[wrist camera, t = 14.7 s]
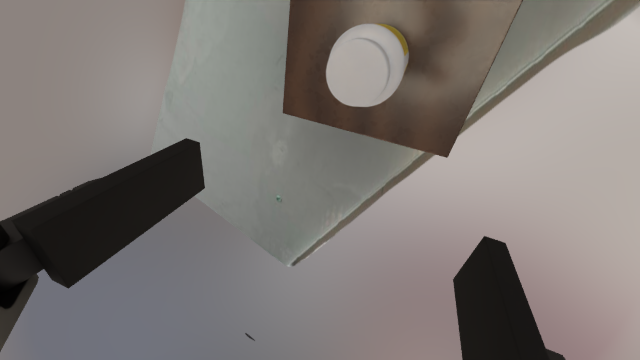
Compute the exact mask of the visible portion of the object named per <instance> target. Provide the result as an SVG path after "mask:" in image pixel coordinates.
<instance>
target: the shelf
mask: <svg viewBox="0 0 640 360" xmlns="http://www.w3.org/2000/svg"><path fill="white" fill-rule="evenodd" d="M522 1H523V0H290V14H289V28H288V43H287V58H286V72H285V87H284V102H283V113H285V114H288V115H292V116H296V117H299V118H303V119H307V120H310V121H314V122H318V123H321V124H325V125H329V126H332V127H336V128H340V129H343V130H347V131H351V132H355V133H358V134H362V135H366V136H369V137H373V138H377V139H380V140H384V141H388V142H391V143H395V144H399V145H402V146H406V147H410V148H413V149H417V150H421V151H424V152H428V153H432V154H435V155H439V156H443V157H448V156H449V153H450V151H451V149H452V147H453V145H454V143H455V141H456V139H457V137H458V135H459V133H460V130H461V128H462V126H463V124H464V122H465V120H466V118H467V116H468V114H469V112H470V110H471V108H472V105H473V103H474V101H475V99H476V97H477V95H478V93H479V91H480V89H481V87H482V85H483V82H484V80H485V78H486V76H487V74H488V72H489V70H490V68H491V66H492V64H493V62H494V59H495V57H496V55H497V53H498V51H499V49H500V47H501V45H502V43H503V41H504V39H505V37H506V34H507V32H508V30H509V28H510V26H511V24H512V22H513V20H514V18H515V16H516V14H517V11H518V9H519V7H520V5H521V3H522ZM361 24H386V25H390V26H392V27H394V28H396V29H398V30H399V31H400V32H401V33H402V35H403V36H404V38H405V39H406V42H407V44H408V49H409V59H408V64H407V67H406V70H405V72H404V75H403V78H402V80H401V82H400V84H399V86H398V88H397V89H396V91H395V92H394V93H393V94H392V95H391V96H390V97H389V98H388V99H386V100H385V101H383V102H382V103H380V104H377V105H374V106H370V107H354V106H348V105H345V104H343V103H342V102H340V101H339V100H337V99H336V98H335V97H334V95H333V94H332V93H331V91H330V89H329V87H328V84H327V80H326V68H327V63H328V60H329V56H330V53H331V50H332V48H333V46H334V44H335V43H336V41H337V40H338V38H339V37H340V36H341V35H342V34H343V33H345V32H346V31H347V30H349V29H350V28H352V27H355V26H357V25H361Z"/></svg>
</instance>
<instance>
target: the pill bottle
mask: <svg viewBox="0 0 640 360" xmlns="http://www.w3.org/2000/svg"><path fill="white" fill-rule="evenodd" d="M408 59H409V49H408V44H407V42H406V39H405V38H404V36H403V35H402V33H401V32H400V31H399V30H398V29H396V28H394V27H392V26H390V25H386V24H361V25H357V26H355V27H352V28H350V29H349V30H347V31H346V32H345V33H343V34H342V35H341V36H340V37H339V38H338V40H337V41H336V43H335V44H334V46H333V48H332V50H331V53H330V56H329V60H328V63H327V68H326V80H327V84H328V87H329V89H330V91H331V93H332V94H333V95H334V97H335V98H336V99H337V100H339V101H340V102H342V103H343V104H345V105H348V106H354V107H370V106H374V105H377V104H380V103H382V102H383V101H385V100H386V99H388V98H389V97H390V96H391V95H392V94H393V93H394V92H395V91H396V89H397V88H398V86H399V84H400V82H401V80H402V78H403V75H404V72H405V70H406V67H407V64H408Z"/></svg>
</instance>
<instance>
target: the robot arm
mask: <svg viewBox="0 0 640 360" xmlns="http://www.w3.org/2000/svg"><path fill="white" fill-rule="evenodd" d="M204 188H205V186H204V177H203V168H202V159H201V151H200V143H199V142H196V141H193V140H190V139H187V138H186V139H184V140H182V141H180V142H178V143H175V144H173V145H171V146H169V147H167V148H165V149H163V150H161V151H158V152H156V153H154V154H152V155H150V156H148V157H146V158H143V159H141V160H139V161H137V162H135V163H133V164H131V165H129V166H126V167H124V168H122V169H120V170H118V171H116V172H114V173H111V174H109V175H107V176H105V177H103V178H99V179H95V180H92V181H88V182H86V183H84V184H81V185H79V186H77V187H75V188H73V190H68V191H66V192H64V193H62V194H60V196H55V197H53V198H51V199H49V200H47V201H44V202H42V203H40V204H38V205H36V206H34V207H31V208H29V209H27V210H25V211H23V212H20V213H18V214H16V215H14V216H12V217H10V218H7V219H5V220H2V221H0V351H1V349H2V348H3V346H4V344H5V342H6V340H7V338H8V336H9V334H10V333H11V331H12V329H13V327H14V325H15V323H16V321H17V320H18V318H19V316H20V314H21V312H22V310H23V308H24V307H25V305H26V303H27V301H28V299H29V297H30V296H31V294H32V292H33V290H34V288H35V286H36V284H37V282H38V278H39V277H38V275H37V273H38V272H40V271H41V270H43V269H45V271H46V272H47V273H48V275H49V276H50V278H51V279H52V280H53V281H55V282H57V283H59V284H61V285H63V286H65V287H67V288H70V287H71V286H72V285H74V284H75V283H77V282H78V281H79V280H81V279H82V278H83V277H85V276H86V275H87V274H89V273H90V272H91V271H93V270H94V269H95V268H97V267H98V266H100V265H101V264H102V263H104V262H105V261H106V260H108V259H109V258H111V257H112V256H113V255H115V254H116V253H117V252H119V251H120V250H121V249H123V248H124V247H125V246H127V245H128V244H130V243H131V242H132V241H134V240H135V239H136V238H138V237H139V236H140V235H142V234H143V233H144V232H146V231H147V230H148V229H150V228H151V227H153V226H154V225H155V224H157V223H158V222H159V221H161V220H162V219H164V218H165V217H166V216H168V215H169V214H170V213H172V212H173V211H174V210H176V209H177V208H178V207H180V206H181V205H183V204H184V203H185V202H187V201H188V200H189V199H191V198H192V197H193V196H195V195H196V194H197V193H199V192H200V191H202V190H203V189H204ZM453 282H454V291H455V299H456V307H457V316H458V325H459V332H460V341H461V350H462V358H463V360H565V358H564V357H563V355H560V354H558V353H555V352H553V351H551V350H548V349H546V348H545V346H544V343H543V340H542V338H541V335H540V333H539V330H538V327H537V325H536V322H535V319H534V317H533V314H532V311H531V309H530V306H529V304H528V301H527V298H526V296H525V293H524V290H523V288H522V285H521V283H520V280H519V278H518V275H517V272H516V270H515V267H514V264H513V262H512V259H511V256H510V254H509V251H508V249H507V246H506V244H505V243H503V242H501V241H498V240H495V239H492V238H489V237H485V236H484V237H483V239H482V240H481V241H480V243H479V244H478V246H477V247H476V248H475V250H474V251H473V253H472V254H471V255H470V257H469V258H468V259H467V261H466V262H465V264H464V265H463V266H462V268H461V269H460V271H459V272H458V273H457V275H456V276H455V277H454V279H453Z"/></svg>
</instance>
